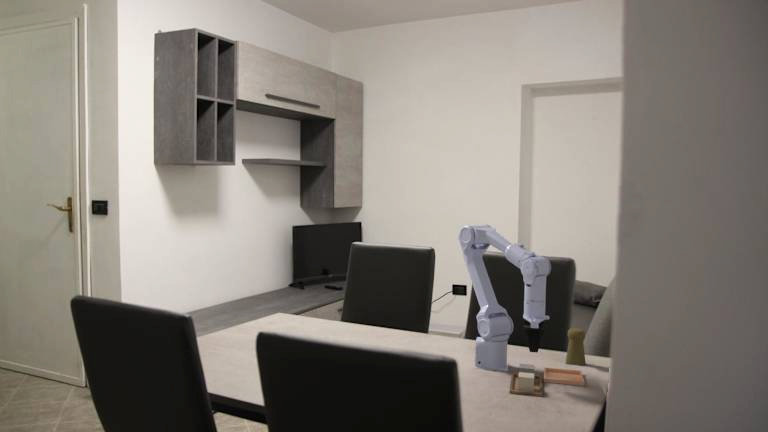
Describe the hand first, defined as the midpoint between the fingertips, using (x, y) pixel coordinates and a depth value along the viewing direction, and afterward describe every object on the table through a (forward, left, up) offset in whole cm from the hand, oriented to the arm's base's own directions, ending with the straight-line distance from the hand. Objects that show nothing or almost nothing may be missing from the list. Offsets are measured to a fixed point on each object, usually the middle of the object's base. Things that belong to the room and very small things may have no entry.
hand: (533, 348), depth 155 cm
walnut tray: (-2, -5, -9) cm, 11 cm away
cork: (+13, +22, -10) cm, 27 cm away
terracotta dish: (+8, +5, -9) cm, 13 cm away
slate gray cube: (-2, -1, -9) cm, 9 cm away
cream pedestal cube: (-2, -9, -9) cm, 13 cm away
